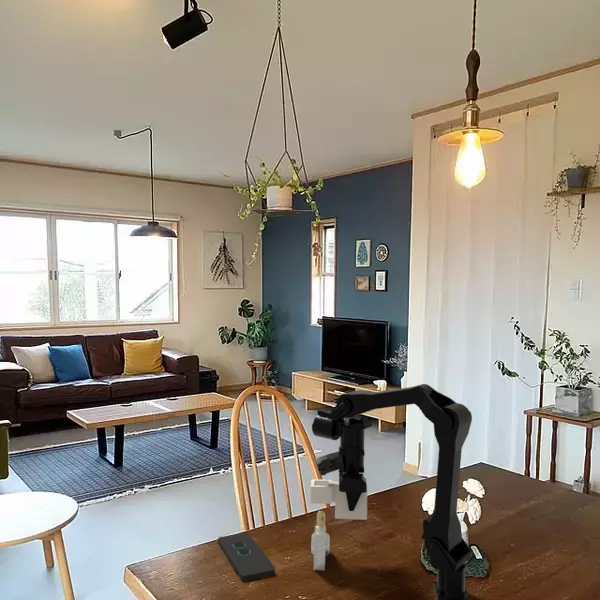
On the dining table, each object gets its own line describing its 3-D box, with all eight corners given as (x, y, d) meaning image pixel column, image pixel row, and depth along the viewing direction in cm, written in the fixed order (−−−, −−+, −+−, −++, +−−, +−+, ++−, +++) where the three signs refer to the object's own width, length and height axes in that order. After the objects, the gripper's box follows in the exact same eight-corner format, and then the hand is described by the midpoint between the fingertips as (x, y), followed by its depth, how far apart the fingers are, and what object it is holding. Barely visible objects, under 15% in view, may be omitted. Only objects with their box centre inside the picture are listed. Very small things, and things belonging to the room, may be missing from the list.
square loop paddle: (367, 521, 130) (367, 488, 130) (310, 520, 131) (310, 486, 130) (366, 513, 135) (366, 480, 135) (311, 511, 136) (311, 479, 135)
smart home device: (248, 531, 141) (276, 568, 123) (248, 538, 141) (276, 576, 123) (216, 536, 138) (241, 575, 119) (216, 543, 138) (241, 583, 119)
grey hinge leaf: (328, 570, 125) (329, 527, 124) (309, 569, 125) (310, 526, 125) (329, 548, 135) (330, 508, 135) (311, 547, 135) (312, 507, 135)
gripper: (319, 432, 142) (318, 492, 142) (317, 454, 123) (316, 523, 124) (363, 434, 141) (362, 494, 142) (367, 456, 123) (366, 525, 123)
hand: (351, 508), depth 132 cm, fingers closed on square loop paddle, 2 cm apart
